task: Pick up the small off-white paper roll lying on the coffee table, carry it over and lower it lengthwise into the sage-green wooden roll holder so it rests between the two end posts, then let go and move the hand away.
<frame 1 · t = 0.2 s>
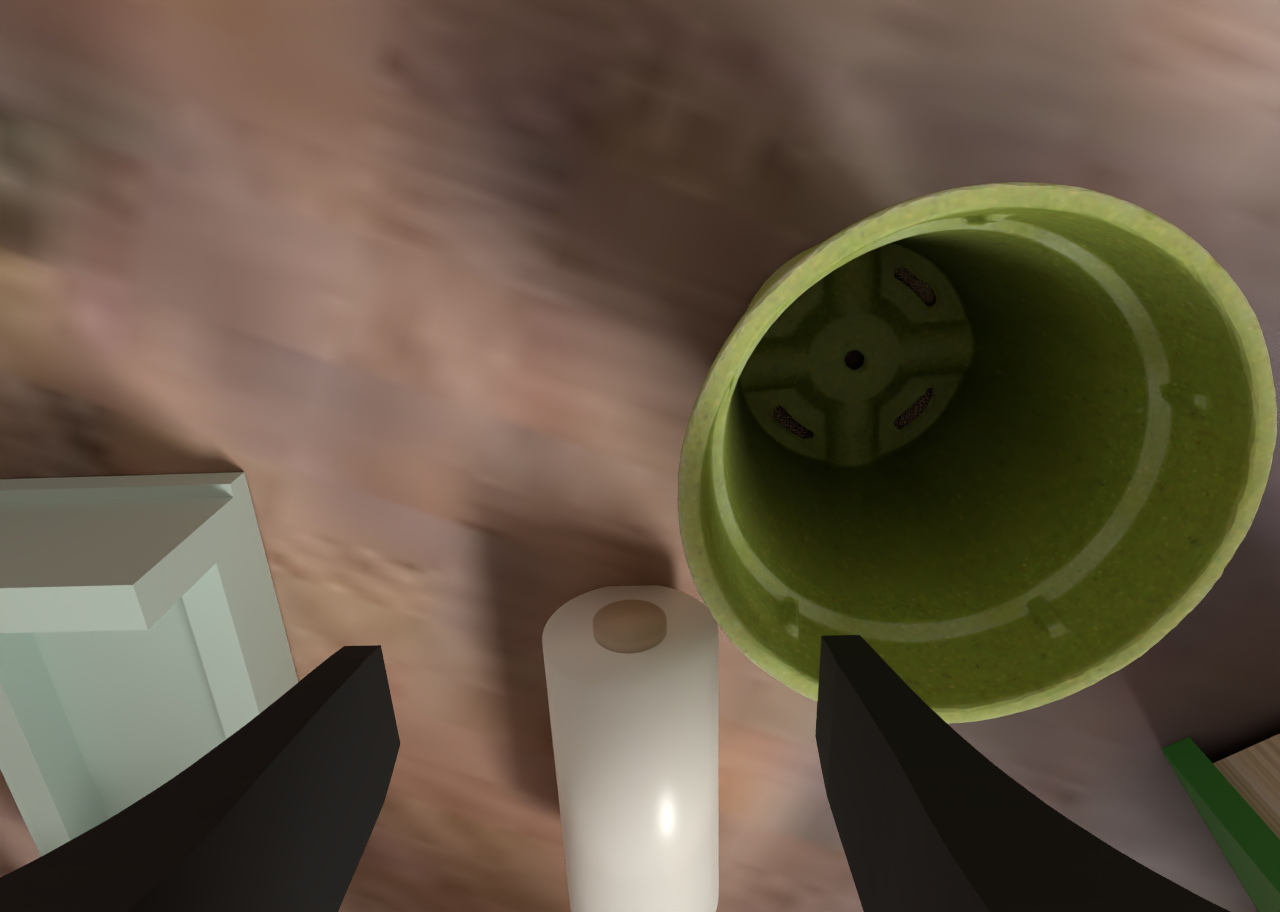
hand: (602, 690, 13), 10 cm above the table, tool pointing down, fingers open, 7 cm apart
plant pot: (845, 350, 21), on the table
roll: (637, 770, 23), point 2 cm above the table
holder: (175, 703, 25), on the table
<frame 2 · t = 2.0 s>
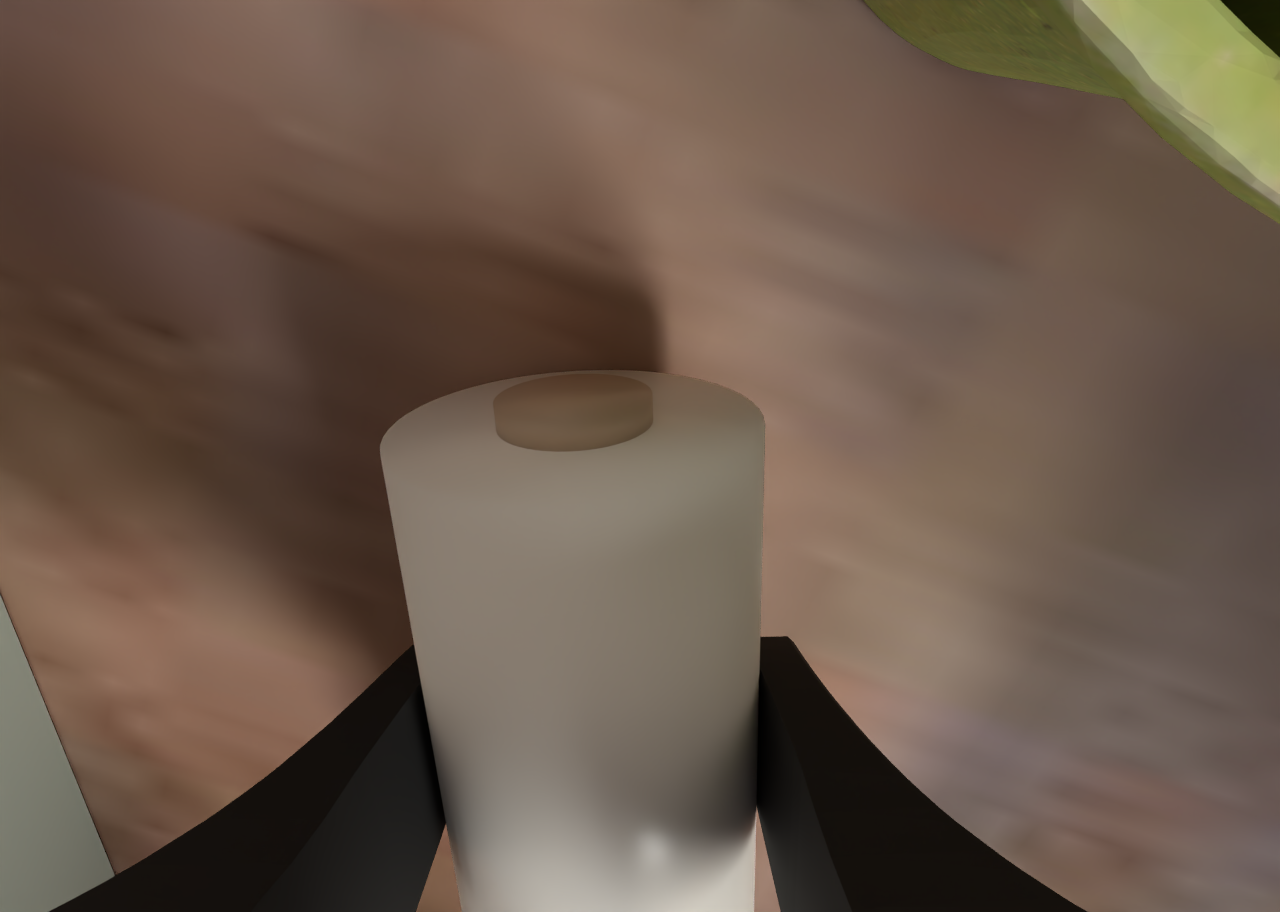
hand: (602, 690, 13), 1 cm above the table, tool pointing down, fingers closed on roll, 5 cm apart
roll: (598, 731, 12), point 2 cm above the table, touching gripper
when the fingers open (3 cm above the table, at t = 5.2 s): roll stays where it is, resting on holder.
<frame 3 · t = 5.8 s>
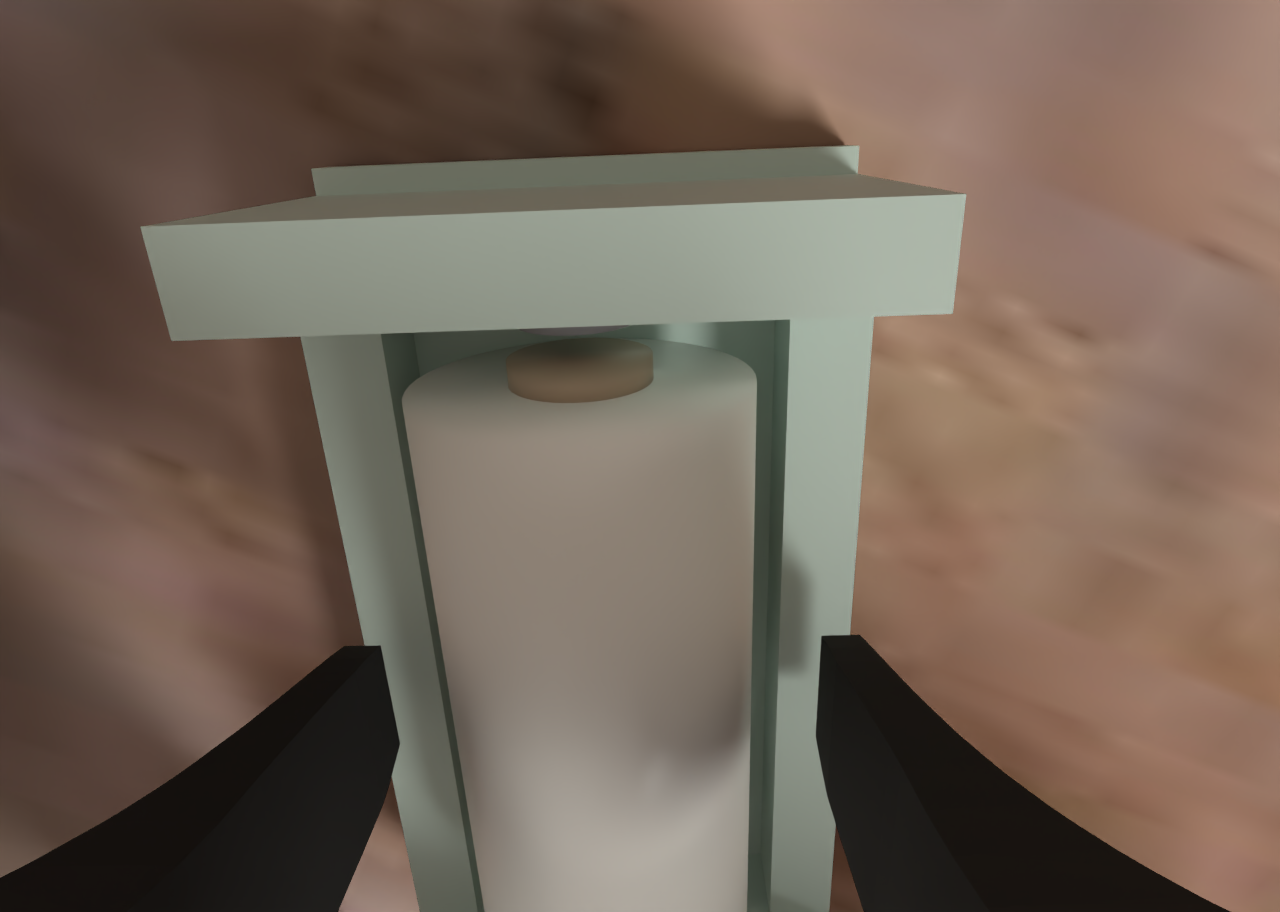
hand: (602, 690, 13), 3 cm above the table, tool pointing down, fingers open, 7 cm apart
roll: (602, 676, 13), point 3 cm above the table, tilted 8°, touching holder
holder: (612, 586, 16), on the table
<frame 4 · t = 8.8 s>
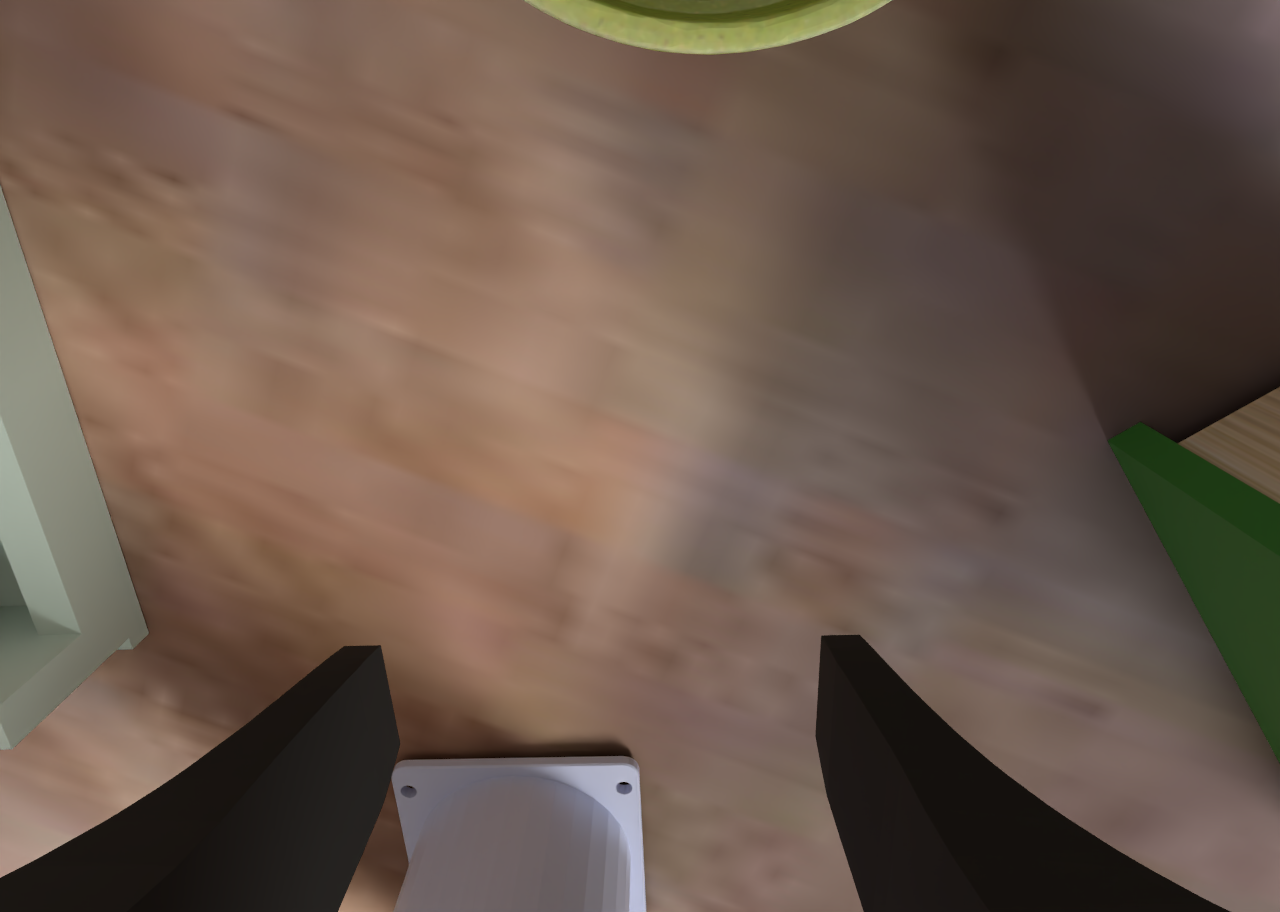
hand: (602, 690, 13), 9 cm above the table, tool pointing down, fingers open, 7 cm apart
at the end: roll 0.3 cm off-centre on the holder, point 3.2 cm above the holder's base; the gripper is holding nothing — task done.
